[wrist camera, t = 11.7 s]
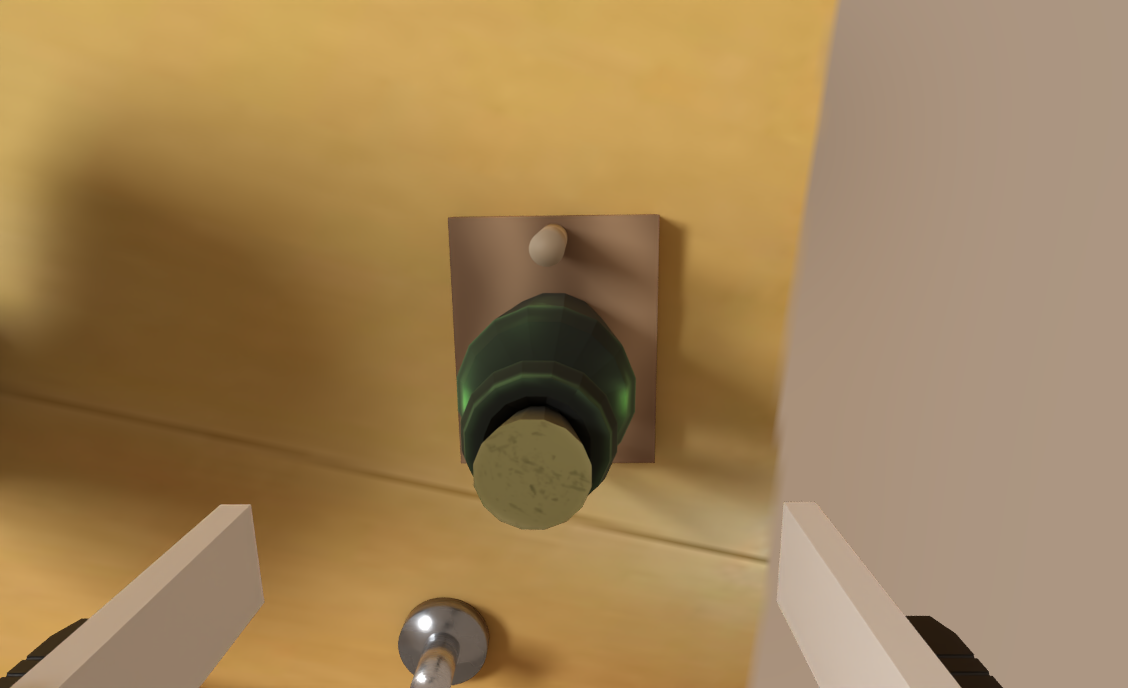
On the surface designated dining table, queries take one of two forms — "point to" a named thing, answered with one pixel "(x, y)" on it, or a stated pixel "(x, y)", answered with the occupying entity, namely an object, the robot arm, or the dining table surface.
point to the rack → (566, 288)
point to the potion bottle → (543, 409)
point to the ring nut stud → (443, 643)
